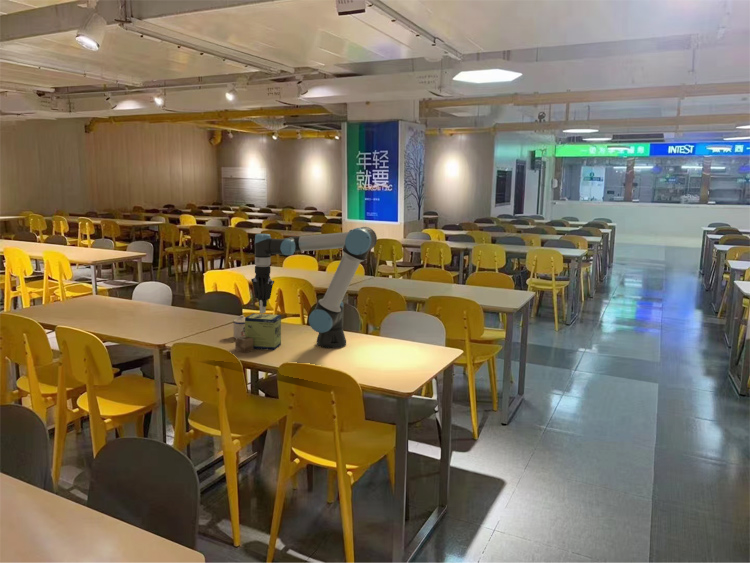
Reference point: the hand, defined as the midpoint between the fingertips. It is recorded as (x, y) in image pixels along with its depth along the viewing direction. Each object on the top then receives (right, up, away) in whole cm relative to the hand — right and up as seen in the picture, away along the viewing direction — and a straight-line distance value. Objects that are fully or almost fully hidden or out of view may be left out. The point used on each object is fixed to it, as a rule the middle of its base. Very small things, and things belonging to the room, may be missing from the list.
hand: (262, 312), depth 281 cm
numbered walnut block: (-8, -18, -5) cm, 20 cm away
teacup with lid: (-14, -14, +21) cm, 29 cm away
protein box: (0, -17, +3) cm, 17 cm away
